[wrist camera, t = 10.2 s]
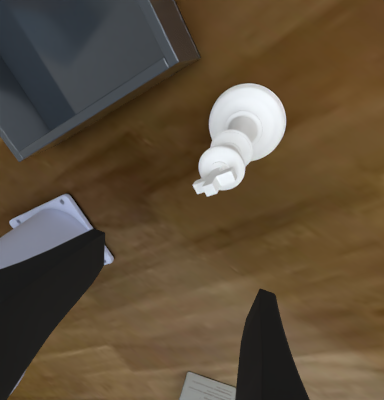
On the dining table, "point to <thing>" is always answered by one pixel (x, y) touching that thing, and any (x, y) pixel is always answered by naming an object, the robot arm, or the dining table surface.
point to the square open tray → (81, 63)
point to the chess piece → (239, 135)
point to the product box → (205, 389)
